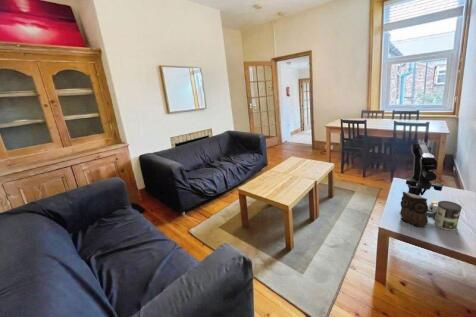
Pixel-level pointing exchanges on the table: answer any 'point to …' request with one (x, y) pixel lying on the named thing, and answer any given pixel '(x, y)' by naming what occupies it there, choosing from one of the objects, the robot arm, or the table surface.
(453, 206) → the coffee can
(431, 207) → the fader orange
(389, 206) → the table surface
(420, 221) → the owl
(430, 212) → the panel
